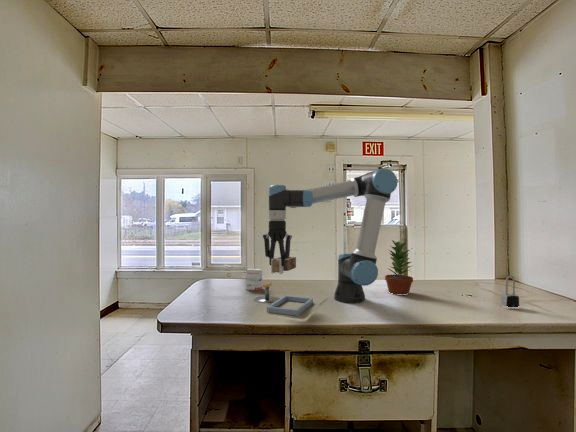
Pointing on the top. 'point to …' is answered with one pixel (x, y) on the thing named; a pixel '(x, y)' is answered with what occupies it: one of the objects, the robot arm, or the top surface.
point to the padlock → (510, 296)
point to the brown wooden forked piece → (289, 264)
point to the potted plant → (399, 271)
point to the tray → (275, 309)
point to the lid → (266, 295)
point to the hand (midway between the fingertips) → (277, 273)
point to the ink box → (253, 279)
